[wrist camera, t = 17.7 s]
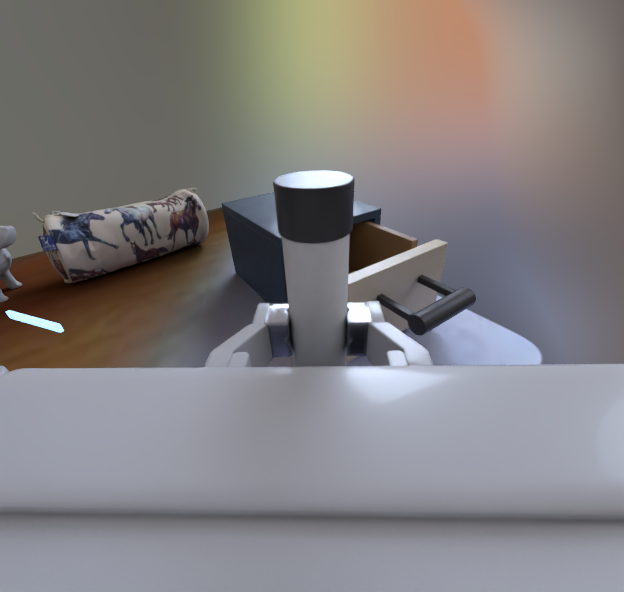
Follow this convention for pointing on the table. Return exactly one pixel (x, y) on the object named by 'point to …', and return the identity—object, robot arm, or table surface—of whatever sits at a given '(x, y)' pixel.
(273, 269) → the cabinet
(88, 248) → the pencil case
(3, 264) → the dog figurine
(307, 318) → the marker
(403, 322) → the drawer
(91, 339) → the table surface
